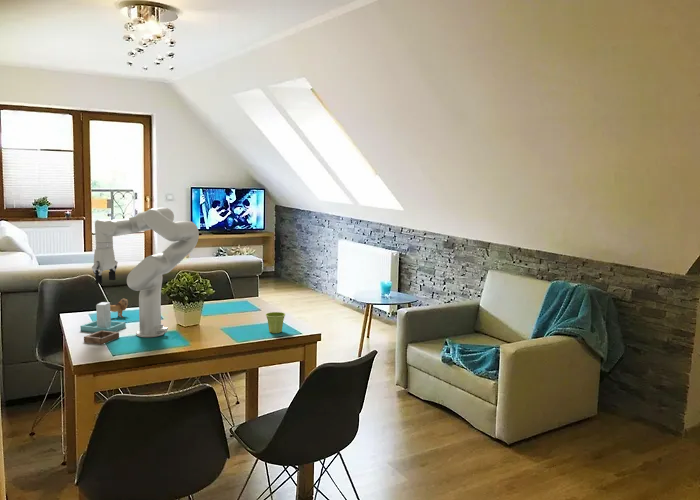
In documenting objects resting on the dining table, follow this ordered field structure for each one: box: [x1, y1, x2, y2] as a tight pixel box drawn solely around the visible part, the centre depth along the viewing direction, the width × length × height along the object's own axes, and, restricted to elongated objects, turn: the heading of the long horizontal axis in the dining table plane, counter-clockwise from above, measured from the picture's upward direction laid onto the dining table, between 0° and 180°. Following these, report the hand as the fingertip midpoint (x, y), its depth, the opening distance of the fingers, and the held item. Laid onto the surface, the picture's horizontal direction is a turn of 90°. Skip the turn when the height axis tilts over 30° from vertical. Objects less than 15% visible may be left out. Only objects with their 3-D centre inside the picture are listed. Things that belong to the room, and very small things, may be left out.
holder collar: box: [83, 330, 120, 345], centre depth 267 cm, size 9×11×2 cm
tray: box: [80, 319, 127, 334], centre depth 285 cm, size 15×13×2 cm
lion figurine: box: [110, 298, 129, 318], centre depth 308 cm, size 15×5×9 cm, turn 132°
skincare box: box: [95, 301, 112, 328], centre depth 284 cm, size 6×4×12 cm
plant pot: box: [265, 311, 286, 334], centre depth 288 cm, size 9×9×9 cm
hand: (105, 281), depth 283 cm, fingers open, 9 cm apart
